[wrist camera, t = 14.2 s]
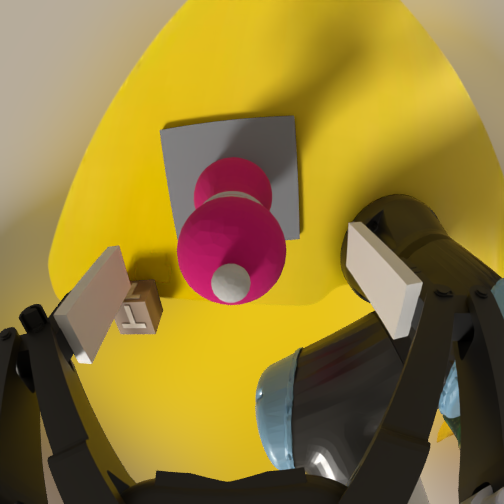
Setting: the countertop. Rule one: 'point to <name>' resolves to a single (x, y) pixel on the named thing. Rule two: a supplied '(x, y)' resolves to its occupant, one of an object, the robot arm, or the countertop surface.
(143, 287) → the marked cube
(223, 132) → the grey mat
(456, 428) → the coffee jar
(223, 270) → the pepper mill
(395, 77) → the countertop surface
